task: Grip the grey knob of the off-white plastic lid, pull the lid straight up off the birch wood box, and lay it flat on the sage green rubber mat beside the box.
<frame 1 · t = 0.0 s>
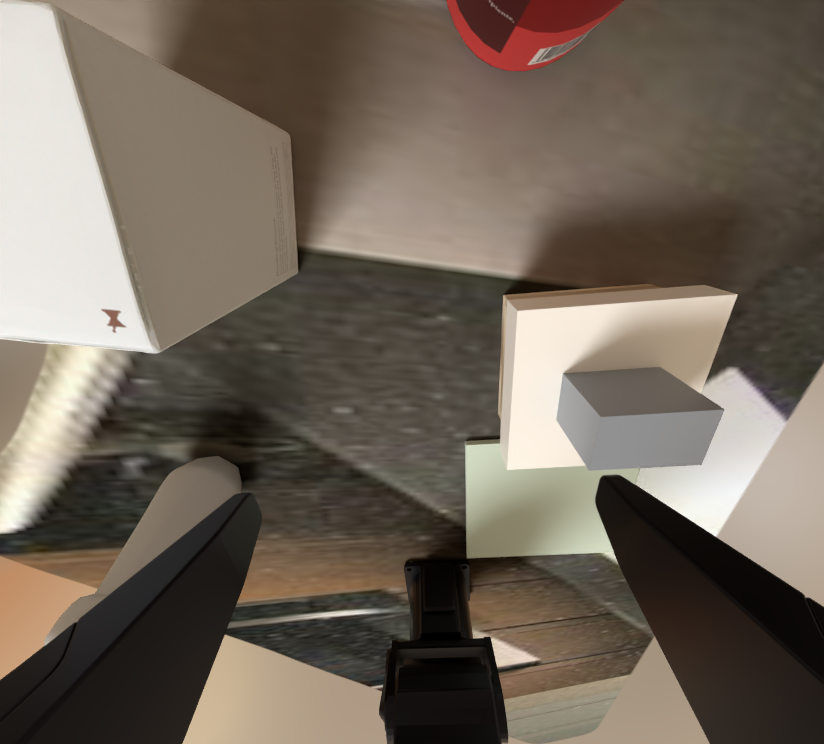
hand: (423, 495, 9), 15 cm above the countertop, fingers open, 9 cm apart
supplement box: (233, 202, 19), on the countertop
salt shaker: (218, 472, 28), on the countertop
mat: (545, 499, 29), on the countertop
lid: (598, 387, 19), point 4 cm above the countertop, touching box
box: (566, 354, 23), on the countertop
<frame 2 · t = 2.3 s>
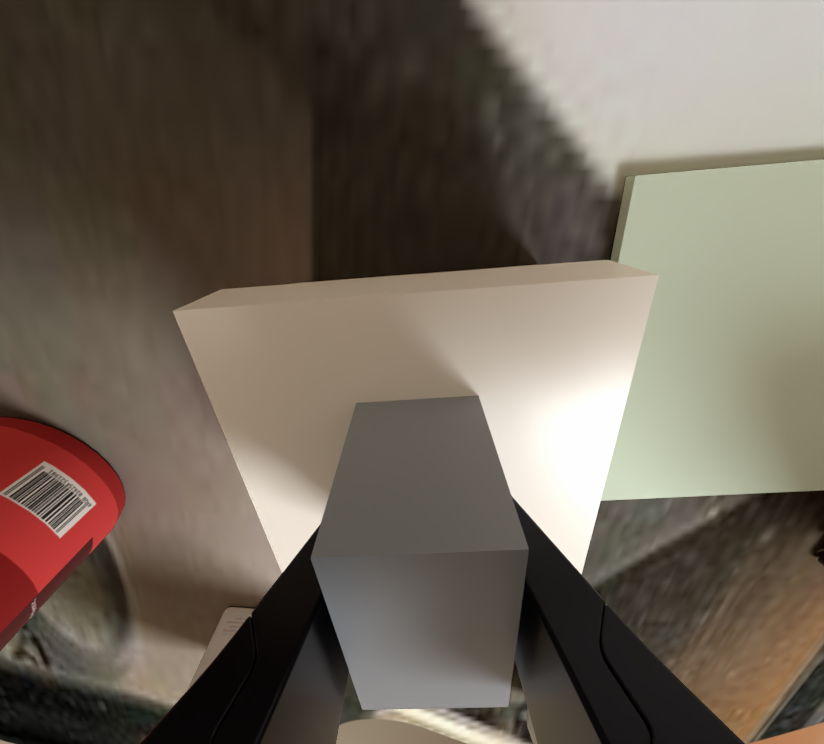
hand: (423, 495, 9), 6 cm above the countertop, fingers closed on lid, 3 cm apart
supplement box: (285, 633, 24), on the countertop
canned food: (52, 472, 17), on the countertop
mat: (765, 361, 13), on the countertop
lid: (422, 455, 10), point 4 cm above the countertop, touching box, gripper
when the fingers open (5 cm above the countertop, at t = 6.6 s): lid drops 2 cm, resting on mat.
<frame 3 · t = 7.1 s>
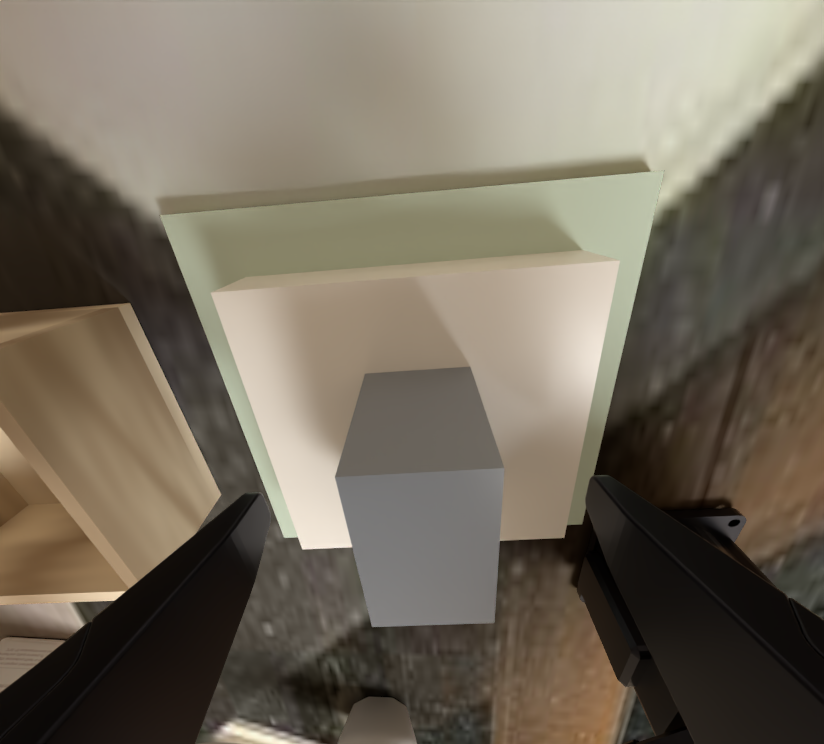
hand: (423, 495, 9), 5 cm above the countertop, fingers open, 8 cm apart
supplement box: (83, 661, 23), on the countertop
salt shaker: (380, 704, 26), on the countertop
mat: (420, 399, 13), on the countertop
lid: (422, 424, 11), point 2 cm above the countertop, touching mat
box: (75, 420, 13), on the countertop
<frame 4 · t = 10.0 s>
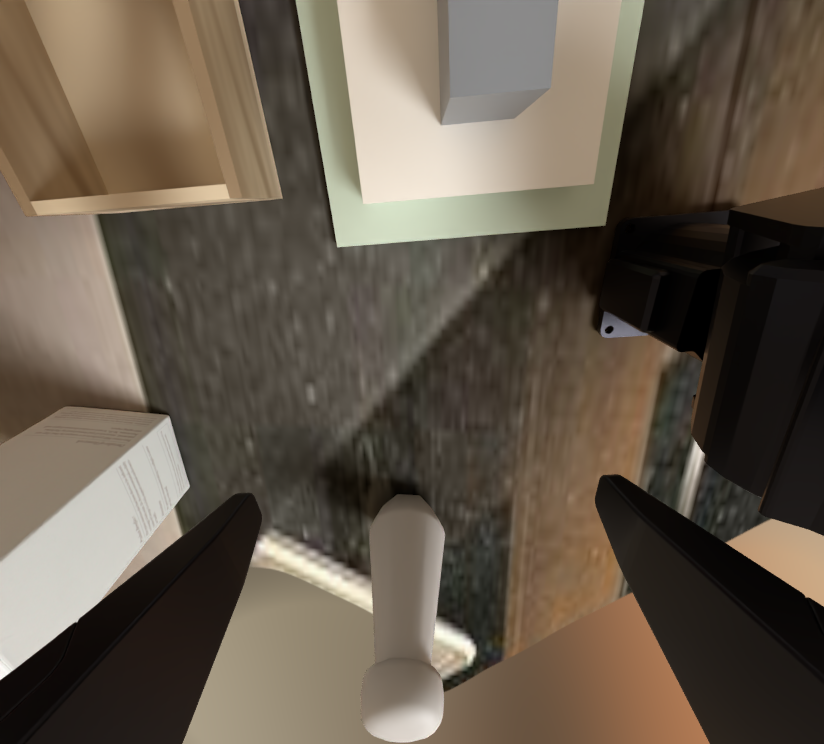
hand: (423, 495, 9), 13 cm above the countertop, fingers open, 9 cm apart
supplement box: (135, 447, 25), on the countertop
salt shaker: (407, 509, 28), on the countertop
mat: (467, 65, 15), on the countertop
lid: (475, 48, 13), point 2 cm above the countertop, touching mat
box: (161, 96, 15), on the countertop
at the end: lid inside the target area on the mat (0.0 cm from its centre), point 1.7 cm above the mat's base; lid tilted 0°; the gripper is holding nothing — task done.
